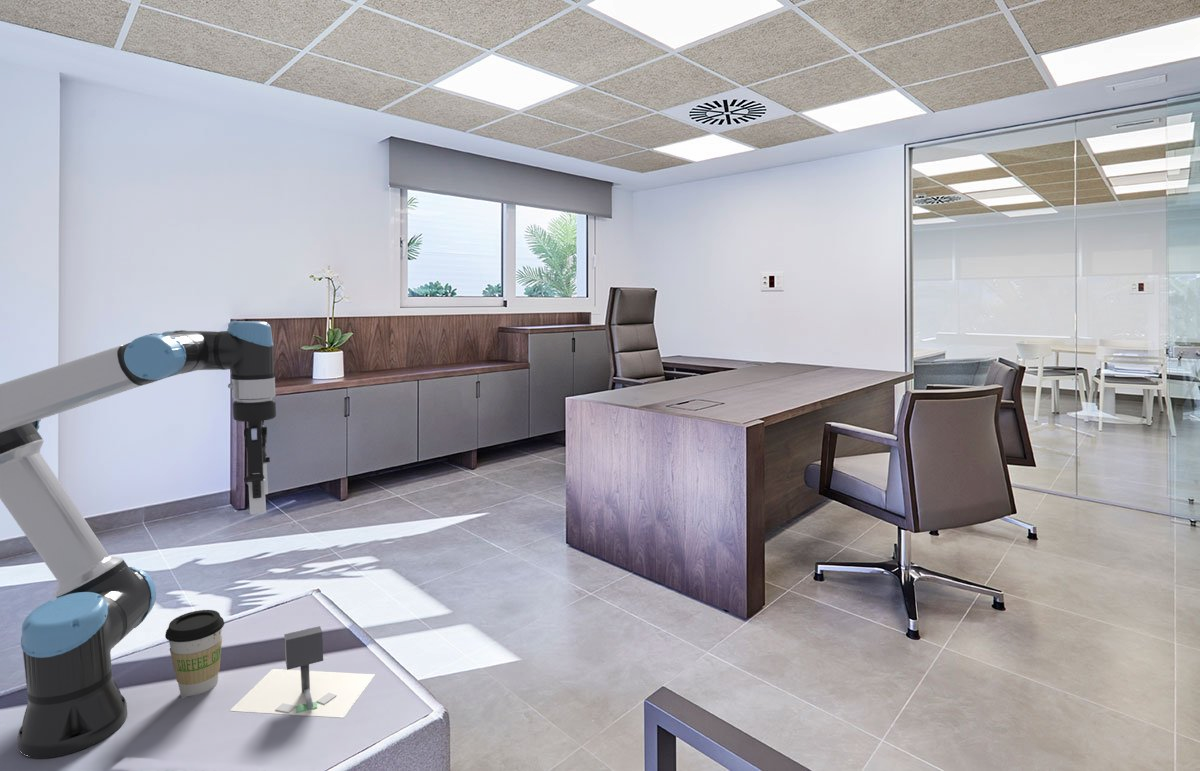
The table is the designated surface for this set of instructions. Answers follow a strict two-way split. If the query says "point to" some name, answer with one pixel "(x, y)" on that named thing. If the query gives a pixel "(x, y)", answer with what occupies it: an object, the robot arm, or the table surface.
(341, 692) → the flat cream board
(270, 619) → the table surface
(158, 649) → the table surface
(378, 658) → the table surface
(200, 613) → the coffee cup
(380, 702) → the table surface
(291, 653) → the dark grey angular piece
